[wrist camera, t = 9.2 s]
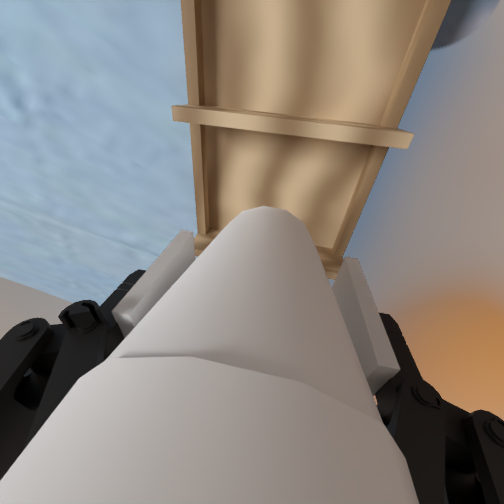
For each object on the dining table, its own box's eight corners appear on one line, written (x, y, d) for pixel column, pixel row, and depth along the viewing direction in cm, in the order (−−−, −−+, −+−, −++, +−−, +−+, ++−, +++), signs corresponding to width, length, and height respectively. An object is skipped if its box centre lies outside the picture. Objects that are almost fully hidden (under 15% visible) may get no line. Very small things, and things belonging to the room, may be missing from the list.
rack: (205, 229, 30) (188, 254, 25) (186, -158, 14) (126, -298, 9) (336, 250, 29) (344, 281, 24) (495, -154, 12) (627, -318, 7)
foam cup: (183, 254, 17) (3, 505, 7) (244, 147, 12) (-163, 547, 1) (280, 310, 19) (261, 573, 8) (369, 240, 14) (606, 699, 3)
